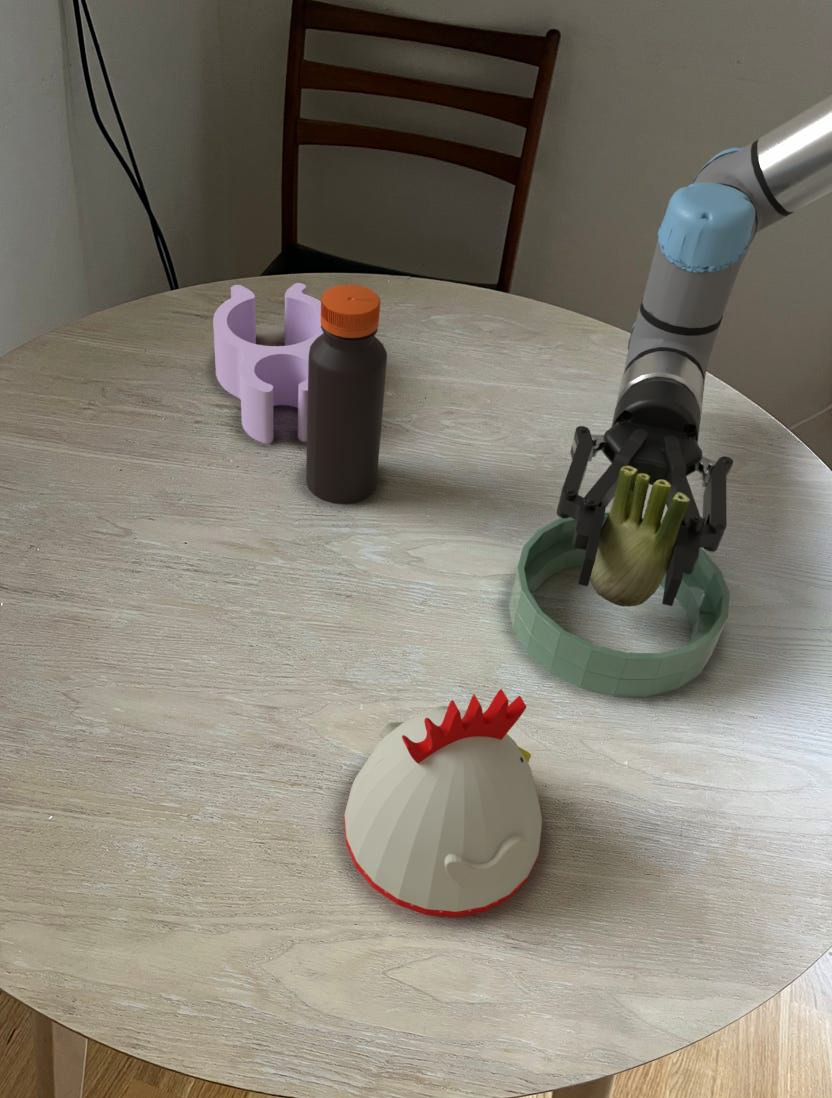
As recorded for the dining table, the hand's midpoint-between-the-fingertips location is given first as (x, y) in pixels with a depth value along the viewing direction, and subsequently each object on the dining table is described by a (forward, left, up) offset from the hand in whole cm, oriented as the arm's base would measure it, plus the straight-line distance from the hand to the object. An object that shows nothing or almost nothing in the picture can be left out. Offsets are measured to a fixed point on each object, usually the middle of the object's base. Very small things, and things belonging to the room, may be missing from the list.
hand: (628, 582), depth 82 cm
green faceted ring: (0, -5, -10) cm, 11 cm away
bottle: (+27, -15, -10) cm, 33 cm away
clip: (+38, -28, -10) cm, 48 cm away
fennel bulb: (0, -5, -6) cm, 8 cm away
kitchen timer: (+9, +20, -10) cm, 24 cm away
